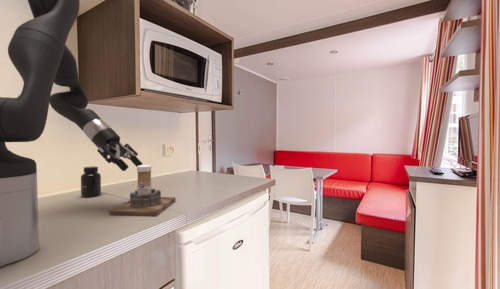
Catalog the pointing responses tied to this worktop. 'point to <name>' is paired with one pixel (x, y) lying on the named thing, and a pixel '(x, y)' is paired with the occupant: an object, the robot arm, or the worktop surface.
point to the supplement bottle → (90, 182)
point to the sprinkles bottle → (144, 180)
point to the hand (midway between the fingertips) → (133, 167)
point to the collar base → (143, 210)
